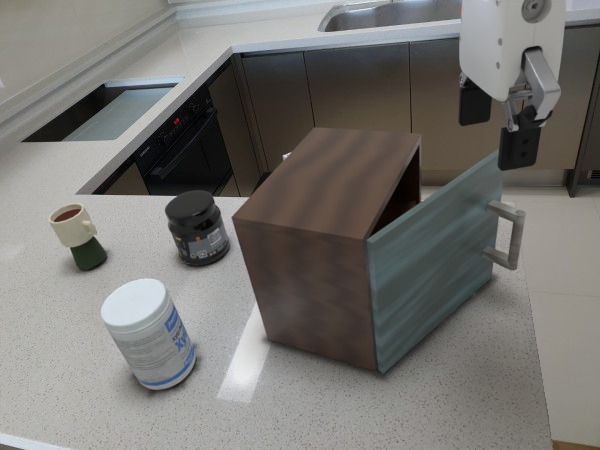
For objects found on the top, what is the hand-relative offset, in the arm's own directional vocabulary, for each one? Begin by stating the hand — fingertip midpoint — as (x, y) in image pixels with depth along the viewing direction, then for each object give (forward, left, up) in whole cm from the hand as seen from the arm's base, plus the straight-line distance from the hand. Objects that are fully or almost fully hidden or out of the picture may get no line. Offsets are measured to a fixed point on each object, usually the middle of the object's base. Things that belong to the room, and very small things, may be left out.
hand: (493, 143), depth 45 cm
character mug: (+77, 0, -34) cm, 84 cm away
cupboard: (+21, -7, -34) cm, 41 cm away
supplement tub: (+43, +16, -34) cm, 57 cm away
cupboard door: (+3, -5, -34) cm, 35 cm away
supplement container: (+54, -10, -34) cm, 65 cm away
